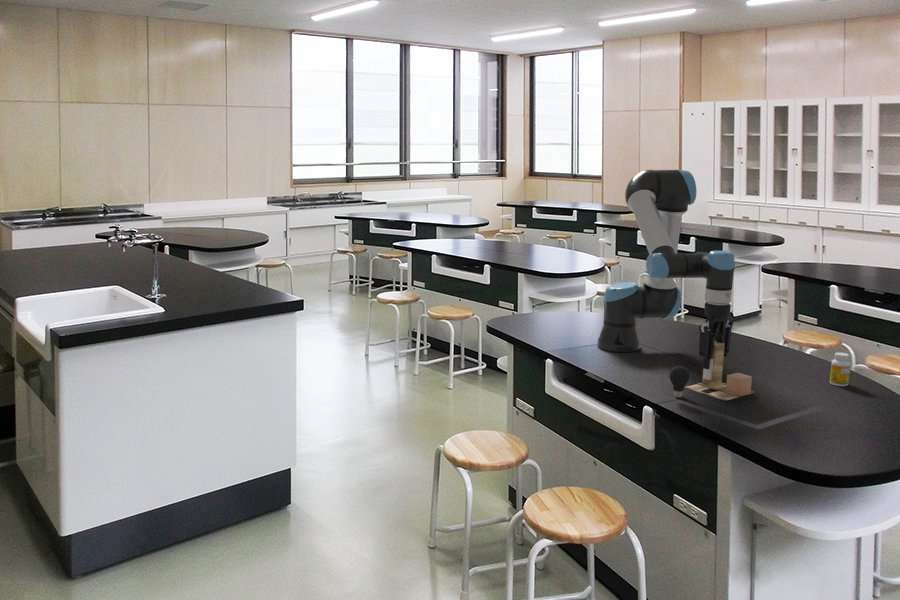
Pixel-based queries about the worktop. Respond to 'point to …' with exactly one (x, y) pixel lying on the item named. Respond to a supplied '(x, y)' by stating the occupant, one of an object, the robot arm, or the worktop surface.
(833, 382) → the supplement bottle
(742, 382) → the terracotta cube
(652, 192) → the robot arm
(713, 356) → the tan boxy piece
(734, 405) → the worktop surface
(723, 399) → the lane rails
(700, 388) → the broken strip
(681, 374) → the light bulb
